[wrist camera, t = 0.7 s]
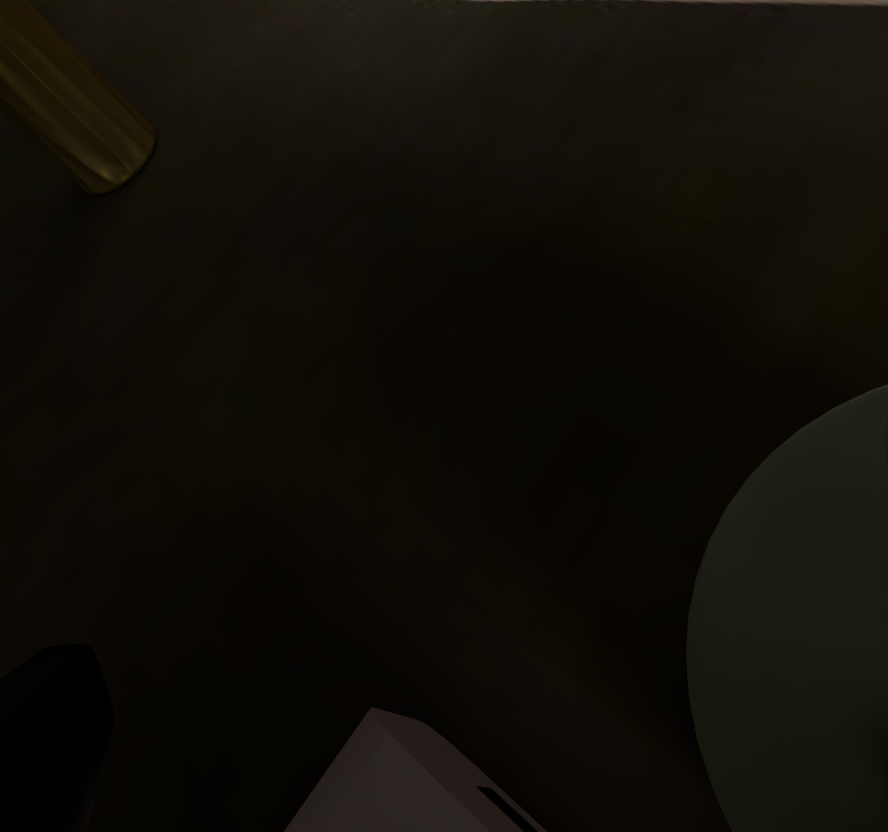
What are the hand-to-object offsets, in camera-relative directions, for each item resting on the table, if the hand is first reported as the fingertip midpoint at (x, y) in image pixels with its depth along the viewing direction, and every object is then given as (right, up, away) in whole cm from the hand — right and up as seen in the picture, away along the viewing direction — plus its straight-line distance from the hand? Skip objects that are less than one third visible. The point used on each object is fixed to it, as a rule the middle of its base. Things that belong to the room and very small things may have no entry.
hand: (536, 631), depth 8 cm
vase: (-22, +18, +41) cm, 50 cm away
